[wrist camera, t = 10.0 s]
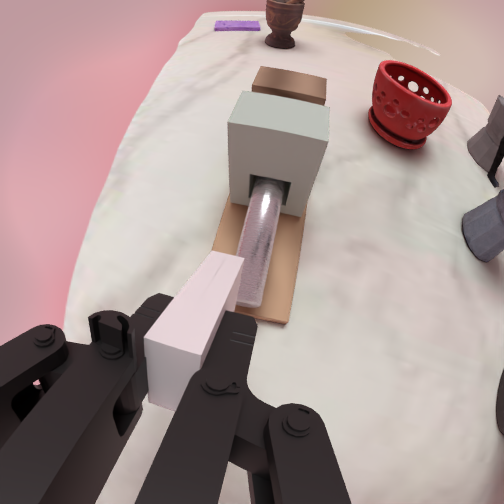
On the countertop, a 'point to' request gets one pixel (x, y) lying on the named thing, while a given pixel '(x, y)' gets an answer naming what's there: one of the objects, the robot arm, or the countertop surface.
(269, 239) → the pipe rig
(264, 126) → the sleeve
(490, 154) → the coffeepot
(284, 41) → the mortar and pestle
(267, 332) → the countertop surface
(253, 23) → the sponges
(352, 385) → the countertop surface
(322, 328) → the countertop surface
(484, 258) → the moka pot
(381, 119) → the plant pot
